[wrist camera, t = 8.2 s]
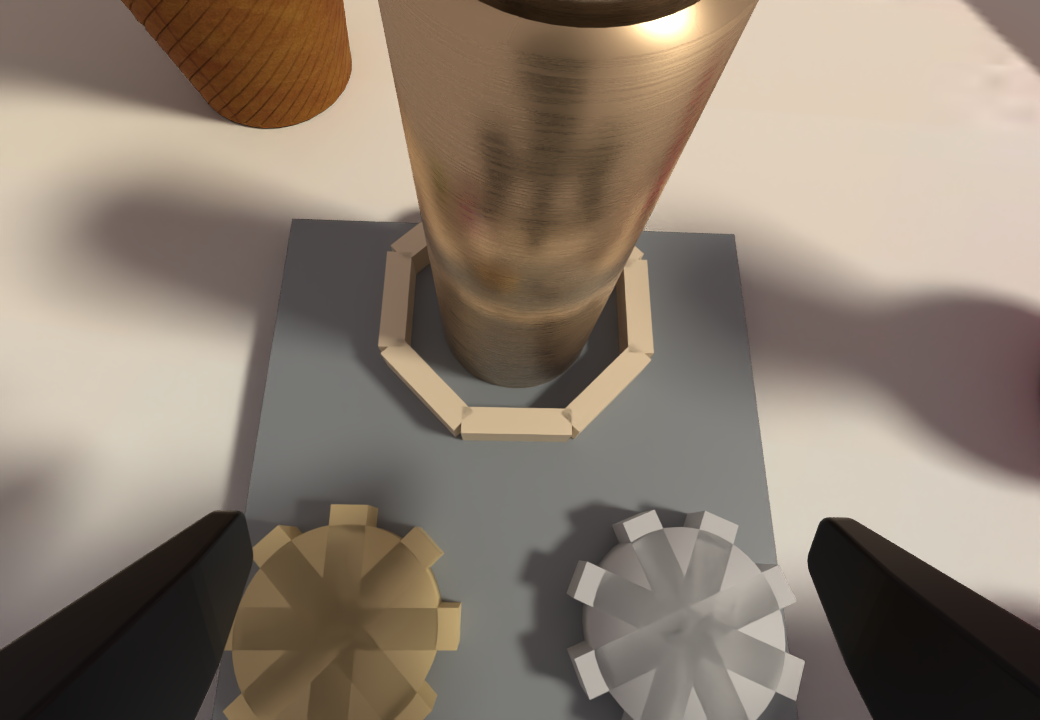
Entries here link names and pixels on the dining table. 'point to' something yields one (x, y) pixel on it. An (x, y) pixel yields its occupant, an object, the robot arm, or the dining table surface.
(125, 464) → the dining table surface
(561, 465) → the gear board
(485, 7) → the metal can
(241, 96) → the disposable coffee cup
